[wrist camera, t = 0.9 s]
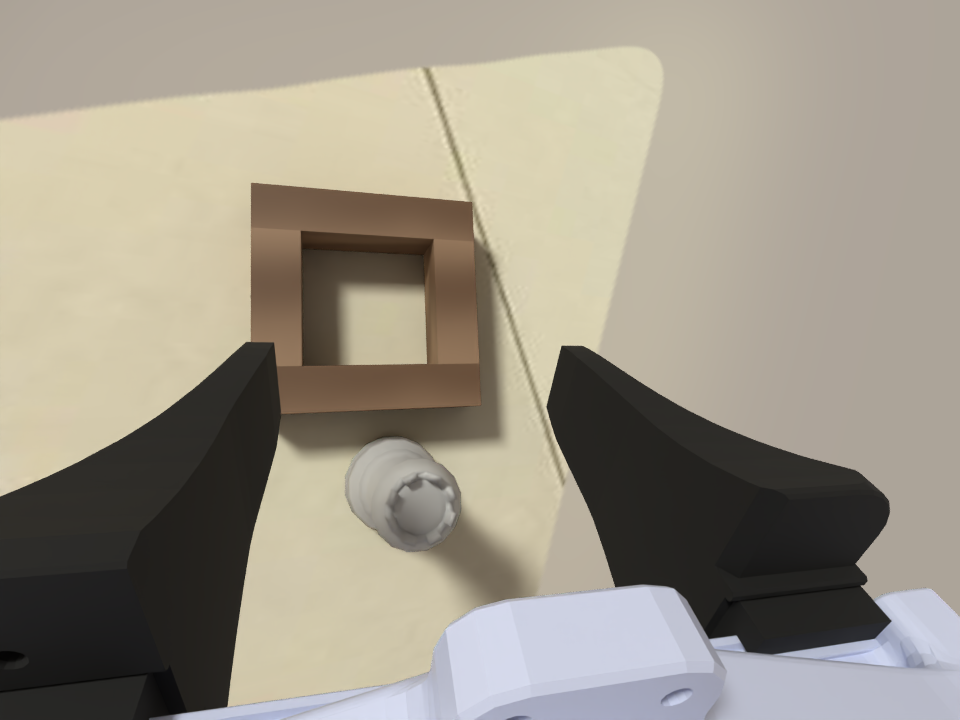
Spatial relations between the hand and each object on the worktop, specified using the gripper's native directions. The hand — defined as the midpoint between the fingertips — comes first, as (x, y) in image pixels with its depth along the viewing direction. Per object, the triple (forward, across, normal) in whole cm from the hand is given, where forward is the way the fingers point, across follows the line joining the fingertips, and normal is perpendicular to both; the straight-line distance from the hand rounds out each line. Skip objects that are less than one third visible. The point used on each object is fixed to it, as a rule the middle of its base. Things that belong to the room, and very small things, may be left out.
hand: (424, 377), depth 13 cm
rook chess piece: (+8, 0, +11) cm, 14 cm away
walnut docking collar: (+13, +1, +5) cm, 13 cm away
